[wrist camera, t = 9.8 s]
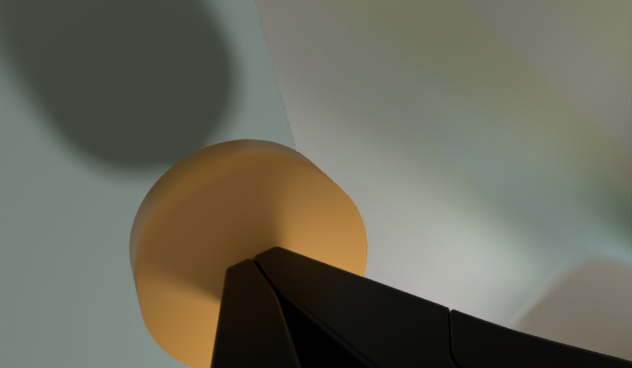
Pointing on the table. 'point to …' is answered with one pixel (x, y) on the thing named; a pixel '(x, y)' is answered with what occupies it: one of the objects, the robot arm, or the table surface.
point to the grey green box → (109, 156)
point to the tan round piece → (231, 234)
